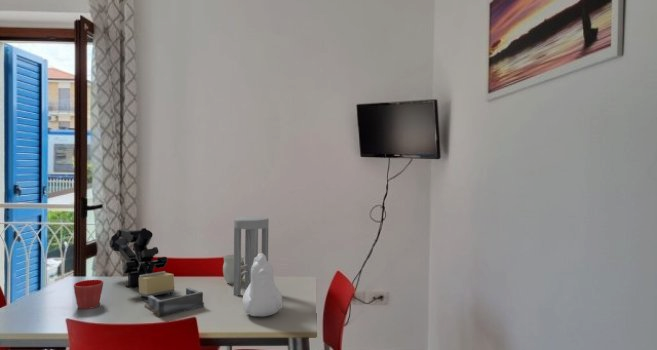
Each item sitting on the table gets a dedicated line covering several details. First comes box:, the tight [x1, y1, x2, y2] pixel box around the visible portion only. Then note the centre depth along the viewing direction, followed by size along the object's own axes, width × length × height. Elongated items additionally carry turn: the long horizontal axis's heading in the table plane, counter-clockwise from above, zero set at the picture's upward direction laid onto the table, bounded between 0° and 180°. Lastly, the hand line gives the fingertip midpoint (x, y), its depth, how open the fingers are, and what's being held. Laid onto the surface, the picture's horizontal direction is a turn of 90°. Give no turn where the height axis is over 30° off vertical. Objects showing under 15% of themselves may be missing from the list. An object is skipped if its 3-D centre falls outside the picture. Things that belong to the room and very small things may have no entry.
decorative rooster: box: [242, 252, 283, 317], centre depth 170 cm, size 25×16×25 cm, turn 3°
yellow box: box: [138, 270, 175, 298], centre depth 186 cm, size 10×12×10 cm
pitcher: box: [222, 254, 245, 285], centre depth 213 cm, size 11×18×14 cm, turn 174°
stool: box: [233, 216, 270, 297], centre depth 194 cm, size 16×16×35 cm
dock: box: [141, 287, 205, 318], centre depth 179 cm, size 29×19×7 cm, turn 45°
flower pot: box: [73, 279, 104, 310], centre depth 174 cm, size 11×11×10 cm
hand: (151, 279), depth 190 cm, fingers closed
